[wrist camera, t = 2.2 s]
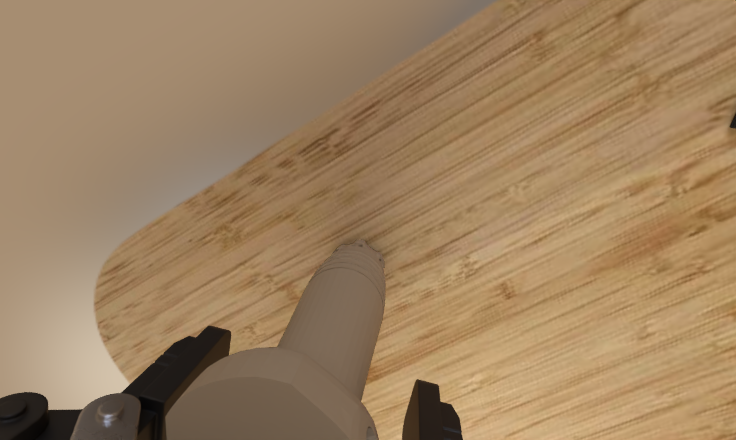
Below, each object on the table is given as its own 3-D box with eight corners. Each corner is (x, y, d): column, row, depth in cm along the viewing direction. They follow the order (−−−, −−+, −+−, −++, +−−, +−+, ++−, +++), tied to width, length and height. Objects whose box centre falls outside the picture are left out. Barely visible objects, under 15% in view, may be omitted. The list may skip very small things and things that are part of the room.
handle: (342, 317, 24) (242, 600, 10) (304, 227, 23) (126, 405, 9) (413, 296, 23) (415, 577, 9) (377, 202, 22) (314, 354, 8)
